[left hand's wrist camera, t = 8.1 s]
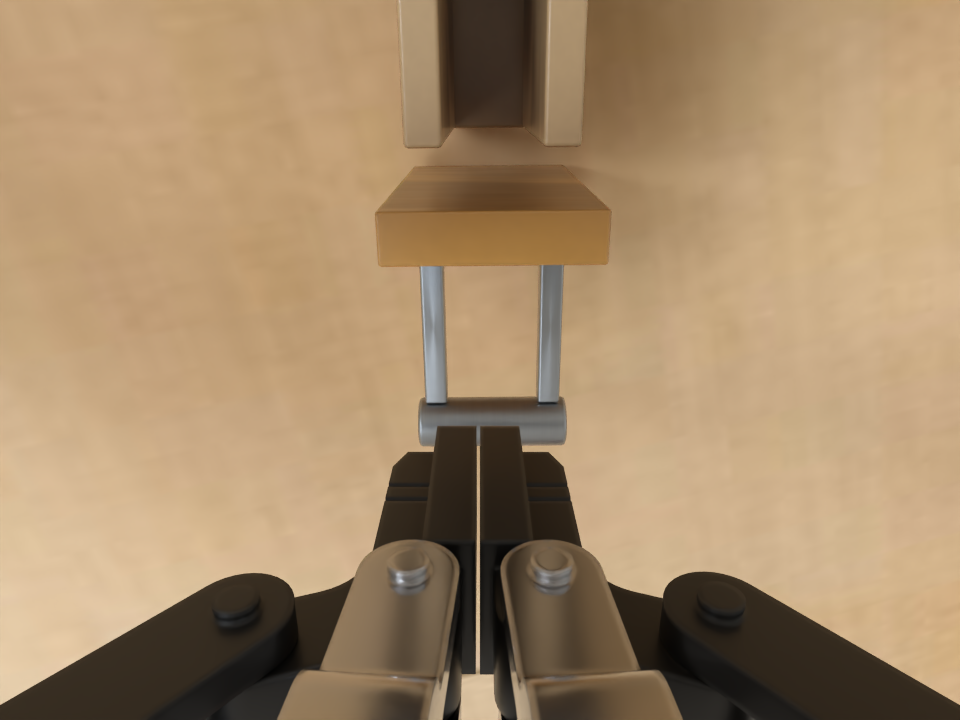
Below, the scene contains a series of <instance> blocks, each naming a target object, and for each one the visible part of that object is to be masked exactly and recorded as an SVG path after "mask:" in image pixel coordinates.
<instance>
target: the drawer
mask: <svg viewBox="0 0 960 720" xmlns="http://www.w3.org/2000/svg"><path fill="white" fill-rule="evenodd" d="M396 2H397V22H398V42H399V62H400V82H401V102H402V122H403V142H404V146H405V147H406V148H439V147H441V146H442V144H443V143H444V141H445V140H446V139H447V137H448V136H449V134H450V133H451V131H452V130H453V129H454V128H493V127H524V128H525V129H527V130H528V131H529V132H530V133H531V134H532V135H533V136H534V137H536V138H537V139H538V140H539V141H540V142H541V143H542V144H543V145H545V146H547V147H577V146H580V145H581V143H582V128H583V105H584V82H585V59H586V37H587V14H588V0H396ZM375 222H376V237H377V251H378V264H379V266H381V267H417V266H420V287H421V309H422V332H423V354H424V377H425V398H422V399H421V400H420V402H419V412H418V432H419V441H420V444H421V445H422V446H435V439H436V431H437V426H477V446H480V426H519V428H520V436H521V444H522V446H523V445H563V444H564V443H565V440H566V433H567V415H566V405H565V401H564V398H563V397H559V384H560V356H561V329H562V301H563V274H564V265H606V264H607V263H608V258H609V242H610V226H611V210H610V209H609V208H608V207H607V206H606V205H605V204H604V203H603V202H602V201H600V200H599V199H598V198H597V197H596V196H595V195H594V194H593V193H592V192H591V191H590V190H589V189H588V188H587V187H585V186H584V185H583V184H582V183H581V182H580V181H579V180H578V179H577V178H576V177H575V176H574V175H573V174H572V173H571V172H569V171H568V170H567V169H566V168H565V167H564V166H563V165H521V166H426V167H414V168H413V169H412V170H411V172H410V173H409V174H408V175H407V176H406V177H405V179H404V180H403V181H402V182H401V183H400V185H399V186H398V187H397V188H396V189H395V190H394V192H393V193H392V194H391V195H390V196H389V197H388V199H387V200H386V201H385V202H384V203H383V204H382V206H381V207H380V208H379V209H378V210H377V211H376V213H375ZM519 265H539V284H538V328H537V373H536V396H537V397H448V380H447V348H446V315H445V283H444V266H519Z"/></svg>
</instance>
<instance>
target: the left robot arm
mask: <svg viewBox="0 0 960 720" xmlns="http://www.w3.org/2000/svg"><path fill="white" fill-rule="evenodd" d="M476 556H477V426H437V431H436V439H435V447H434V452H408V453H407V454H406V455H405V456H403V457H402V458H401V459H400V460H399V461H398V462H397V463H396V464H395V465H394V466H393V469H392V473H391V477H390V481H389V487H388V490H387V494H386V501H385V502H384V506H383V511H382V515H381V519H380V523H379V527H378V531H377V536H376V540H375V544H374V548H373V551H372V552H370V553H369V554H368V555H367V556H366V557H365V558H364V559H363V560H362V562H361V563H360V565H359V567H358V569H357V572H356V575H355V577H353V578H352V579H350V580H349V581H347V582H345V583H343V584H341V585H339V586H337V587H334V588H332V589H329V590H325V591H321V592H317V593H313V594H308V595H304V596H300V597H295V598H294V594H293V591H292V589H291V587H290V586H289V585H288V584H287V583H286V582H285V581H284V580H282V579H280V578H278V577H275V576H272V575H268V574H262V573H249V574H240V575H235V576H231V577H227V578H224V579H222V580H219V581H216V582H214V583H212V584H210V585H208V586H206V587H205V588H203V589H201V590H199V591H198V592H196V593H194V594H193V595H191V596H189V597H187V598H186V599H184V600H182V601H180V602H179V603H177V604H175V605H173V606H172V607H170V608H168V609H166V610H165V611H163V612H161V613H159V614H158V615H156V616H154V617H153V618H151V619H149V620H147V621H146V622H144V623H142V624H140V625H139V626H137V627H135V628H133V629H132V630H130V631H128V632H126V633H125V634H123V635H121V636H120V637H118V638H116V639H114V640H113V641H111V642H109V643H107V644H106V645H104V646H102V647H100V648H99V649H97V650H95V651H93V652H92V653H90V654H88V655H87V656H85V657H83V658H81V659H80V660H78V661H76V662H74V663H73V664H71V665H69V666H67V667H66V668H64V669H62V670H60V671H59V672H57V673H55V674H54V675H52V676H50V677H48V678H47V679H45V680H43V681H41V682H40V683H38V684H36V685H34V686H33V687H31V688H29V689H27V690H26V691H24V692H22V693H20V694H19V695H17V696H15V697H14V698H12V699H10V700H8V701H7V702H5V703H3V704H1V705H0V720H461V679H462V674H476ZM480 674H494V695H495V701H496V704H497V707H498V709H499V720H960V705H959V704H957V703H955V702H953V701H952V700H950V699H948V698H946V697H945V696H943V695H941V694H939V693H938V692H936V691H934V690H933V689H931V688H929V687H927V686H926V685H924V684H922V683H920V682H919V681H917V680H915V679H913V678H912V677H910V676H908V675H906V674H905V673H903V672H901V671H900V670H898V669H896V668H894V667H893V666H891V665H889V664H887V663H886V662H884V661H882V660H880V659H879V658H877V657H875V656H873V655H872V654H870V653H868V652H867V651H865V650H863V649H861V648H860V647H858V646H856V645H854V644H853V643H851V642H849V641H847V640H846V639H844V638H842V637H840V636H839V635H837V634H835V633H833V632H832V631H830V630H828V629H827V628H825V627H823V626H821V625H820V624H818V623H816V622H814V621H813V620H811V619H809V618H807V617H806V616H804V615H802V614H800V613H799V612H797V611H795V610H794V609H792V608H790V607H788V606H787V605H785V604H783V603H781V602H780V601H778V600H776V599H774V598H773V597H771V596H769V595H767V594H766V593H764V592H762V591H761V590H759V589H757V588H755V587H754V586H752V585H750V584H748V583H746V582H744V581H742V580H740V579H737V578H735V577H732V576H728V575H725V574H720V573H714V572H693V573H687V574H684V575H681V576H679V577H677V578H675V579H673V580H672V581H671V582H670V583H669V584H668V585H667V587H666V588H665V591H664V594H663V598H659V597H654V596H650V595H646V594H641V593H637V592H633V591H629V590H626V589H623V588H620V587H618V586H615V585H613V584H611V583H610V582H608V581H607V580H606V577H605V575H604V572H603V569H602V567H601V565H600V563H599V562H598V560H597V559H596V558H595V557H594V556H593V555H592V554H591V553H590V552H588V551H586V550H585V549H583V548H582V546H581V541H580V537H579V533H578V528H577V524H576V519H575V515H574V511H573V506H572V502H571V500H570V493H569V489H568V487H567V480H566V476H565V472H564V467H563V466H562V465H561V464H560V463H559V462H558V461H557V460H556V459H555V458H554V457H553V456H552V455H551V454H550V453H549V452H522V444H521V436H520V428H519V426H480Z"/></svg>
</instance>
